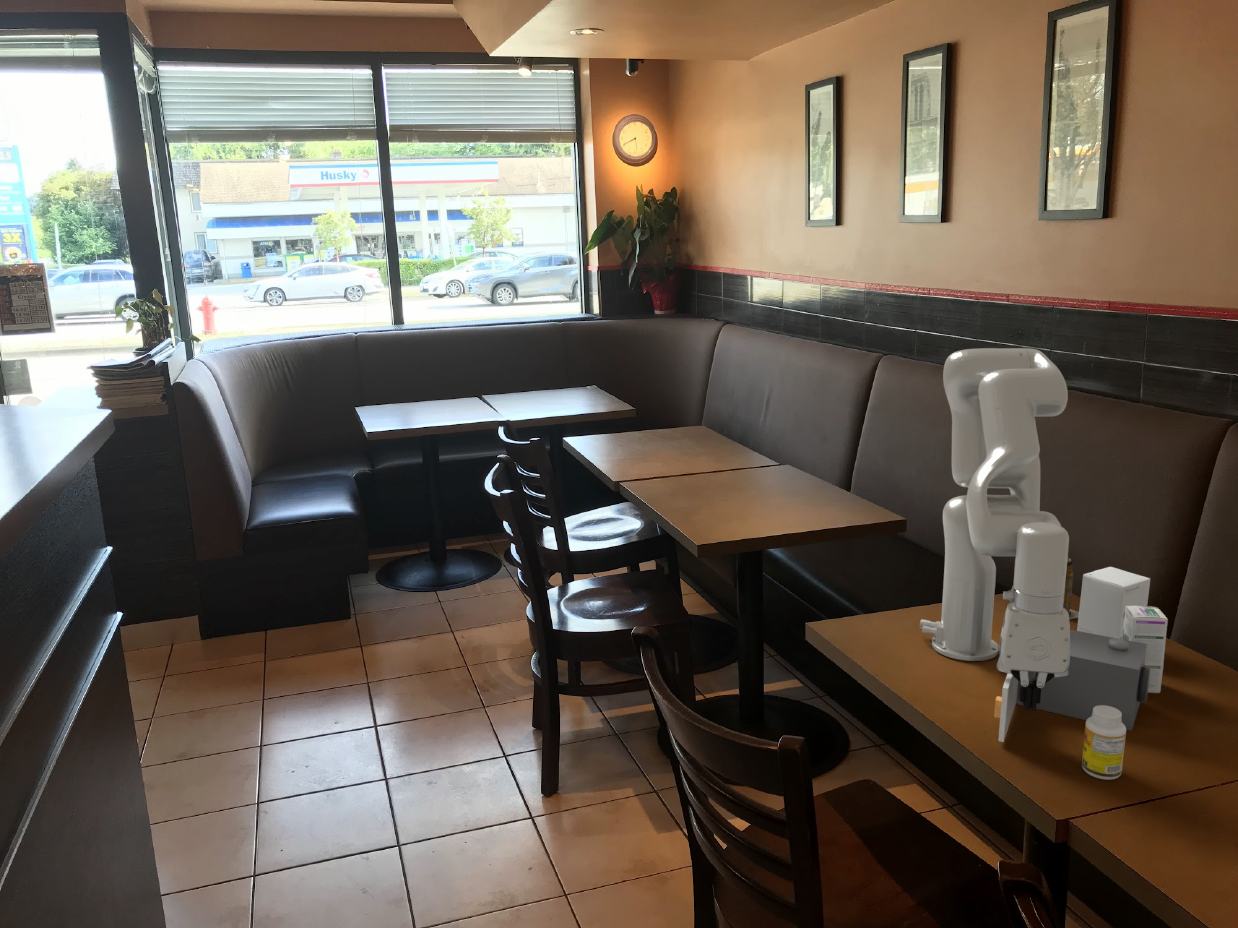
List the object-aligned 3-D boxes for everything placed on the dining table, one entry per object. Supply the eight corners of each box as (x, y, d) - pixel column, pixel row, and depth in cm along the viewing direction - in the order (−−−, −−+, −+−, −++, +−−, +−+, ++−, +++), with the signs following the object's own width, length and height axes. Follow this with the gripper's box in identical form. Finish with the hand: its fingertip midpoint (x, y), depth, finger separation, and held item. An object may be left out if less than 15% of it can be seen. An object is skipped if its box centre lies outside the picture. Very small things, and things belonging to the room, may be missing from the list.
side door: (1006, 697, 172) (1010, 648, 169) (1017, 699, 171) (1021, 650, 169) (991, 739, 158) (996, 686, 155) (1003, 742, 157) (1008, 688, 155)
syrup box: (1161, 693, 174) (1170, 618, 170) (1125, 691, 175) (1134, 616, 172) (1151, 679, 179) (1159, 606, 176) (1116, 677, 180) (1124, 604, 177)
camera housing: (1005, 701, 172) (1010, 638, 169) (1020, 675, 182) (1025, 615, 179) (1139, 732, 160) (1147, 665, 158) (1147, 703, 170) (1155, 640, 167)
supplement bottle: (1086, 758, 153) (1093, 698, 151) (1125, 769, 150) (1132, 709, 147) (1076, 773, 149) (1082, 712, 147) (1115, 785, 145) (1122, 723, 143)
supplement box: (1116, 659, 188) (1124, 586, 184) (1074, 643, 195) (1081, 573, 192) (1144, 649, 192) (1152, 577, 189) (1102, 634, 200) (1109, 565, 196)
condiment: (1053, 603, 217) (1057, 552, 214) (1085, 615, 209) (1091, 563, 207) (1029, 608, 214) (1034, 557, 211) (1061, 622, 206) (1066, 568, 204)
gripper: (991, 605, 153) (983, 712, 157) (1094, 612, 149) (1083, 721, 153) (985, 589, 160) (978, 692, 164) (1083, 595, 157) (1073, 700, 161)
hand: (1029, 705), depth 159 cm, fingers closed
